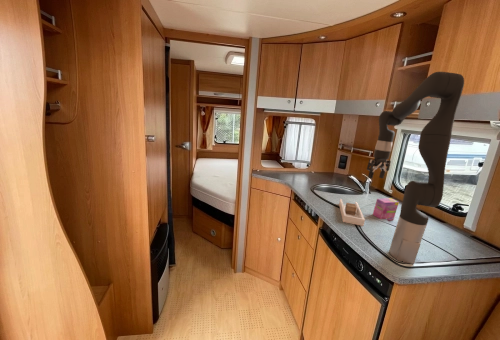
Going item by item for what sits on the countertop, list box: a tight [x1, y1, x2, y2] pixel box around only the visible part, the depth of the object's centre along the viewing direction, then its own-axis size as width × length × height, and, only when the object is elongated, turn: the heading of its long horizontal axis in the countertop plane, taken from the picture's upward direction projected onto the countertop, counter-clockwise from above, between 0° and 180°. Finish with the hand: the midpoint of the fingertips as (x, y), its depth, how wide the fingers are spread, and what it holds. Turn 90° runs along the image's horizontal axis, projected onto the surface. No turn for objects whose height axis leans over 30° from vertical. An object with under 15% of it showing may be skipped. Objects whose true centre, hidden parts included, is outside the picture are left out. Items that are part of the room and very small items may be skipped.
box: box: [372, 197, 400, 221], centre depth 127 cm, size 10×6×12 cm, turn 105°
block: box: [345, 202, 357, 215], centre depth 128 cm, size 5×5×5 cm
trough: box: [338, 198, 366, 227], centre depth 127 cm, size 25×10×5 cm, turn 163°
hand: (375, 178), depth 123 cm, fingers open, 8 cm apart
